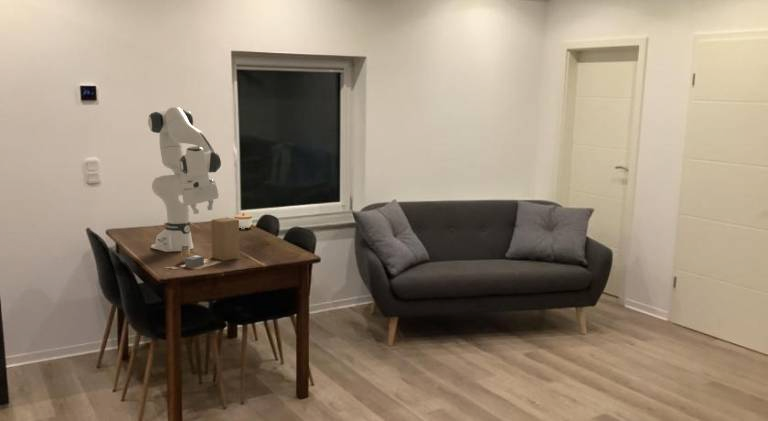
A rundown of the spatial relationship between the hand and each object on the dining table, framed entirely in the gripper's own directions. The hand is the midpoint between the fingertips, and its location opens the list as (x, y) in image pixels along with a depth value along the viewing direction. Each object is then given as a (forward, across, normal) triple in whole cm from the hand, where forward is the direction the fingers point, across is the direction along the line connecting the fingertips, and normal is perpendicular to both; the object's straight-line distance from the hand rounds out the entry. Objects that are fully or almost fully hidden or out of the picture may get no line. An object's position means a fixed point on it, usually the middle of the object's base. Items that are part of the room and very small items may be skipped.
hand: (203, 211), depth 309 cm
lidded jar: (+26, -84, -46) cm, 99 cm away
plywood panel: (+26, 0, -6) cm, 27 cm away
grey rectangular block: (+25, +4, -6) cm, 26 cm away
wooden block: (+27, -16, -5) cm, 32 cm away
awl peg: (+25, 0, -15) cm, 29 cm away
